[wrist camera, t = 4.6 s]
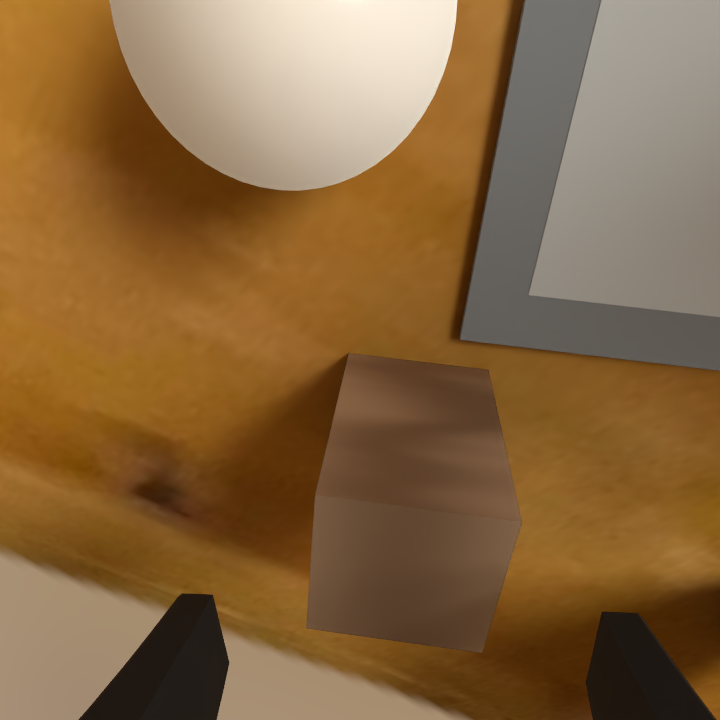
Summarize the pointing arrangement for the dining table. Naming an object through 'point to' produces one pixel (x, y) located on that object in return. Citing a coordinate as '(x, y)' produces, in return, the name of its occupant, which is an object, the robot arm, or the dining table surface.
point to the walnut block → (412, 506)
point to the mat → (606, 186)
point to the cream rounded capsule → (287, 80)
